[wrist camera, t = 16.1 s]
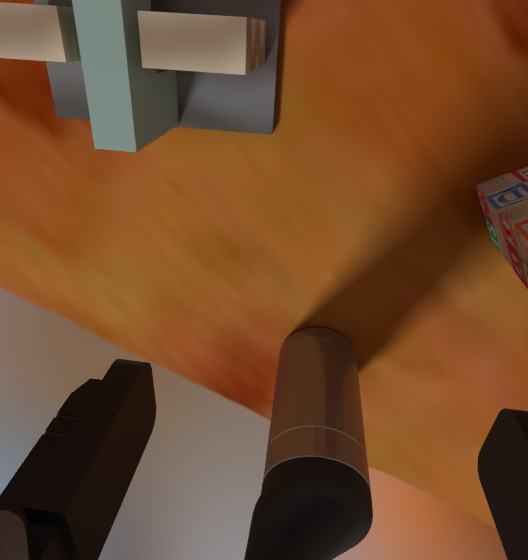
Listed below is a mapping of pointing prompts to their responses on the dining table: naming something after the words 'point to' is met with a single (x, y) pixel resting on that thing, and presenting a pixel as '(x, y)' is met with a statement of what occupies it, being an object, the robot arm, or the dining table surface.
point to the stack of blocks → (508, 217)
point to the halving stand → (167, 56)
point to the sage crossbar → (122, 77)
